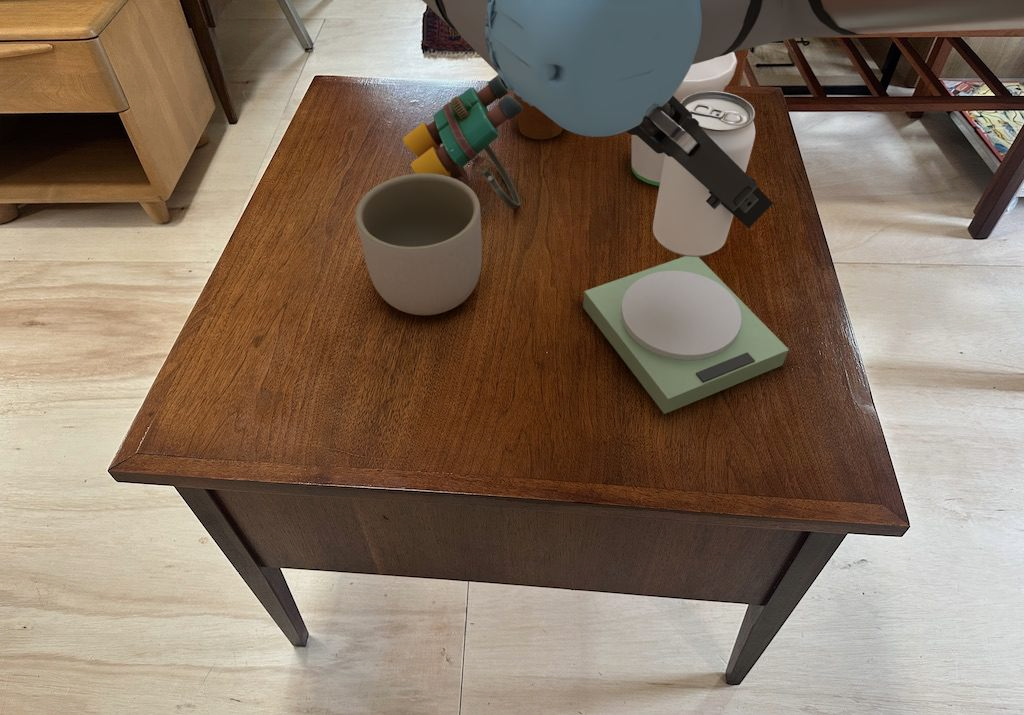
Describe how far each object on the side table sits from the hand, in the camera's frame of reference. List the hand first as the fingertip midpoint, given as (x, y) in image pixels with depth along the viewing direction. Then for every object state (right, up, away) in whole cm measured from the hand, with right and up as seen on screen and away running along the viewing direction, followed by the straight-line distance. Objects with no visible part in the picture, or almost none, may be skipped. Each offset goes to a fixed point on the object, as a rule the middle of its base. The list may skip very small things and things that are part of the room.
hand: (731, 189), depth 60 cm
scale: (-1, -12, +13) cm, 18 cm away
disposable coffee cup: (-15, +18, +40) cm, 46 cm away
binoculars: (-24, +5, +29) cm, 38 cm away
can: (-3, -4, +2) cm, 5 cm away
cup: (+1, +11, +33) cm, 35 cm away
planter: (-28, -7, +19) cm, 34 cm away
